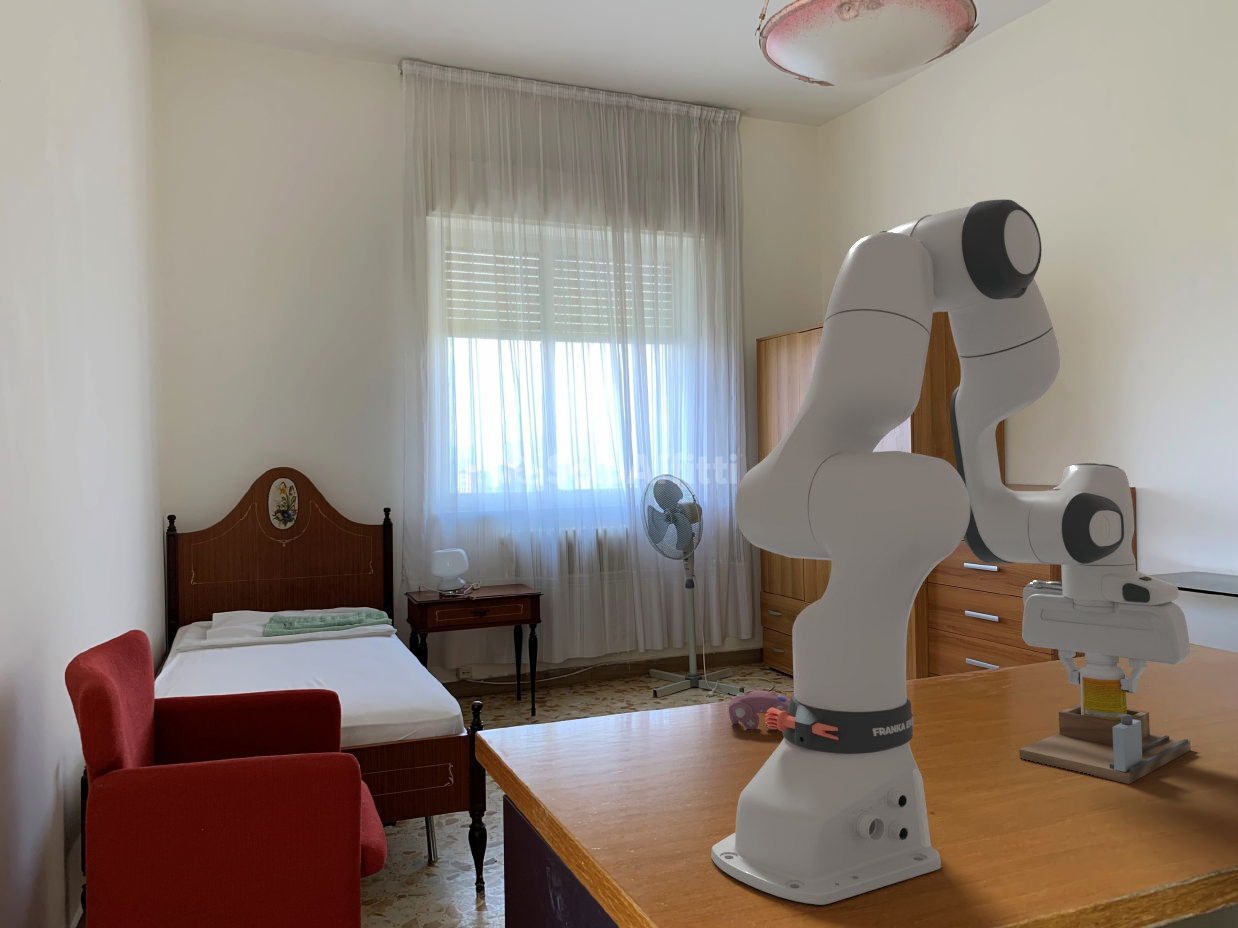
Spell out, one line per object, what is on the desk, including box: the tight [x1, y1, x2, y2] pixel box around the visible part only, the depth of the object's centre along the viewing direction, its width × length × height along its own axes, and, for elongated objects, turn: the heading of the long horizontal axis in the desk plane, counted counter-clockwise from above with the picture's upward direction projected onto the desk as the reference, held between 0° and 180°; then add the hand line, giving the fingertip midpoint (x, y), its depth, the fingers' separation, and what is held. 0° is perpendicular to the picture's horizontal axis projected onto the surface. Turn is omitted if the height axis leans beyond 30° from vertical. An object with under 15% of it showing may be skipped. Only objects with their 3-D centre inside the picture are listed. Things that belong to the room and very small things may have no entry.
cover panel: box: [1112, 714, 1142, 772], centre depth 105 cm, size 5×1×6 cm, turn 129°
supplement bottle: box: [1079, 652, 1128, 721], centre depth 118 cm, size 5×5×10 cm
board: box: [1019, 703, 1192, 785], centre depth 114 cm, size 19×13×4 cm
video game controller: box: [728, 690, 791, 731], centre depth 129 cm, size 10×5×7 cm, turn 77°
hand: (1102, 687), depth 118 cm, fingers closed on supplement bottle, 5 cm apart
